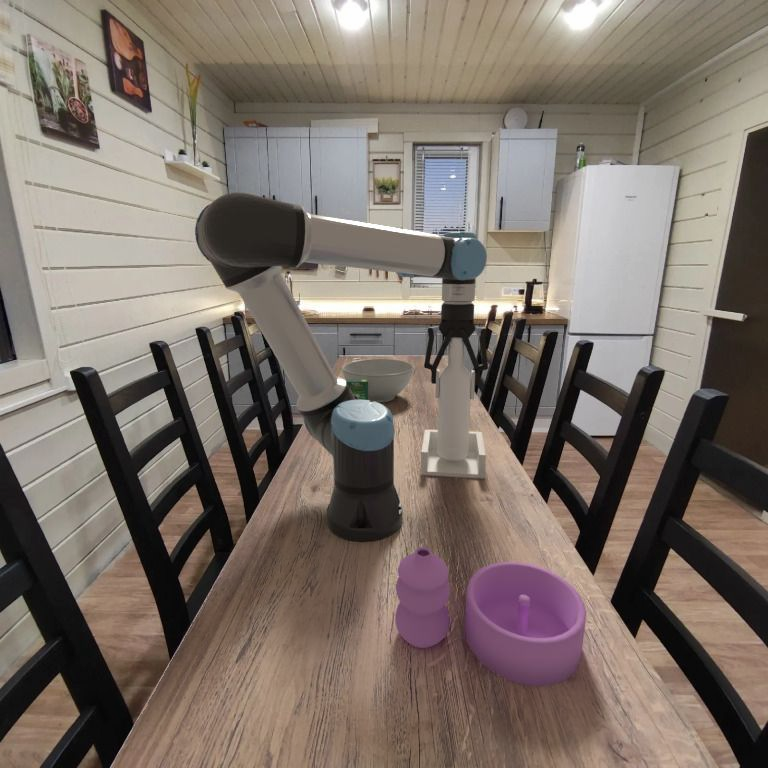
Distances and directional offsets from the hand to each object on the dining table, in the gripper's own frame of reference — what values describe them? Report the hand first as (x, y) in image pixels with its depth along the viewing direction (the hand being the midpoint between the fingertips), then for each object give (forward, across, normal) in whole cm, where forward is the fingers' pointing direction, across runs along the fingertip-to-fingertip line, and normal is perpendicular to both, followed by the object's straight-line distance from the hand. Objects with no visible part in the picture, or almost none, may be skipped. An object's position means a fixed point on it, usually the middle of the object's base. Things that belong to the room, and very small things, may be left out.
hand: (454, 396), depth 112 cm
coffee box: (+18, -31, +30) cm, 47 cm away
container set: (+18, +4, -55) cm, 58 cm away
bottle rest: (+18, 0, 0) cm, 18 cm away
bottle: (+15, 0, 0) cm, 15 cm away
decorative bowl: (+18, -27, +54) cm, 64 cm away
